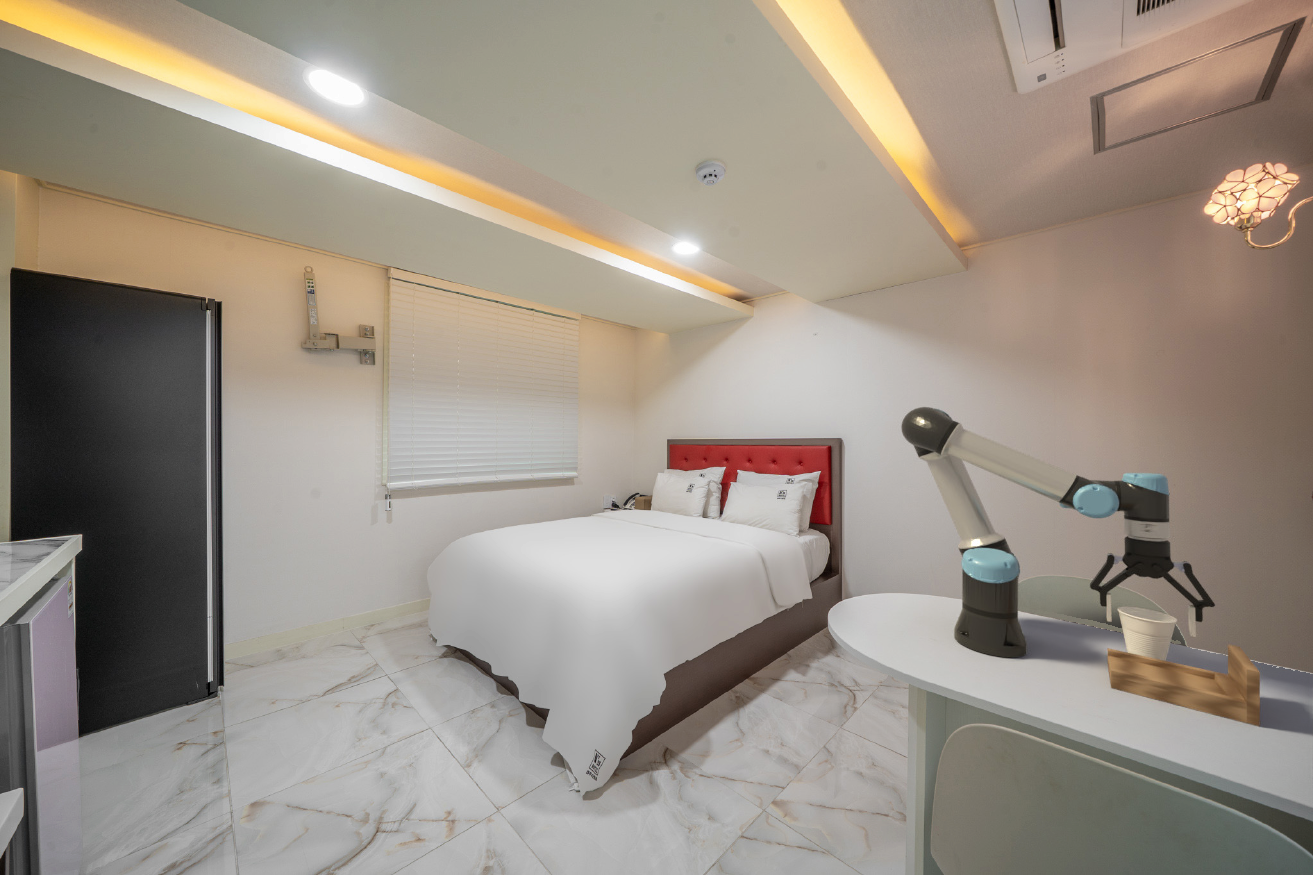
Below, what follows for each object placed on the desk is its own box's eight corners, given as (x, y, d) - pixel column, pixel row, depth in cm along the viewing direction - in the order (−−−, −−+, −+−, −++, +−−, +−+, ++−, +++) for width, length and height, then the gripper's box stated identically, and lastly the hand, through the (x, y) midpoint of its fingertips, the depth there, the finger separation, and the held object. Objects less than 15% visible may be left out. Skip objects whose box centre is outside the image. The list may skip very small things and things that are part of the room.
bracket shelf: (1111, 687, 98) (1111, 640, 98) (1107, 663, 108) (1107, 621, 108) (1259, 726, 85) (1259, 672, 85) (1239, 694, 95) (1239, 646, 95)
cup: (1190, 672, 105) (1190, 623, 105) (1138, 667, 107) (1138, 620, 107) (1153, 652, 114) (1153, 607, 114) (1106, 648, 116) (1106, 604, 116)
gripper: (1076, 533, 116) (1078, 618, 116) (1233, 548, 99) (1235, 647, 99) (1076, 529, 122) (1078, 610, 121) (1224, 542, 105) (1227, 636, 105)
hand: (1148, 627), depth 110 cm, fingers open, 13 cm apart
